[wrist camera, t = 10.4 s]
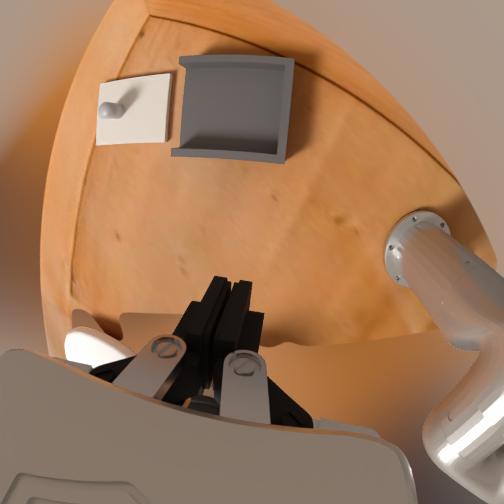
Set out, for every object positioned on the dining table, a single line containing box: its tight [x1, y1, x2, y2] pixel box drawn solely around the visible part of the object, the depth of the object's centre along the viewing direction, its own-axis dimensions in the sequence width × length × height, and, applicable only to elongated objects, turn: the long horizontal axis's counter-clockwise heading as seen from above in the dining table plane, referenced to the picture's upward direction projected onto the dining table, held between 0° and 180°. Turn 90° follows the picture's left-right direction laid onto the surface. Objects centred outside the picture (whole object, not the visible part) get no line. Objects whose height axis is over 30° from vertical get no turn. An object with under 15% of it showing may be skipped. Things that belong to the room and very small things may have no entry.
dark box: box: [171, 55, 295, 164], centre depth 30 cm, size 14×13×4 cm
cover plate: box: [96, 73, 173, 145], centre depth 30 cm, size 12×10×5 cm
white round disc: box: [65, 326, 137, 368], centre depth 52 cm, size 28×6×27 cm
